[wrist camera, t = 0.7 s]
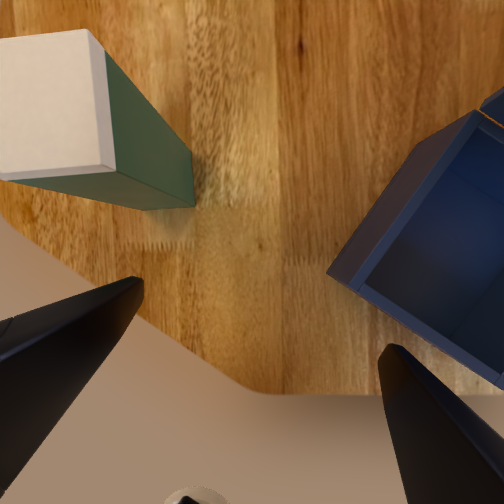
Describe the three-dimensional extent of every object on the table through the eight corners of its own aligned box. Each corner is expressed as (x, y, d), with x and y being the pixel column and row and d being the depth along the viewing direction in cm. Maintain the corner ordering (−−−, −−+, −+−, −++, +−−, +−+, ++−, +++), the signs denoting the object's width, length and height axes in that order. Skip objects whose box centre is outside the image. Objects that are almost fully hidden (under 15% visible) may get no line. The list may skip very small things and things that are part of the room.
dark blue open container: (441, 350, 22) (504, 391, 16) (325, 272, 22) (347, 285, 16) (538, 225, 21) (643, 221, 15) (417, 143, 21) (475, 108, 15)
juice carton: (195, 206, 22) (101, 164, 9) (142, 210, 23) (-22, 175, 10) (190, 150, 22) (87, 28, 9) (137, 155, 22) (-39, 42, 9)
